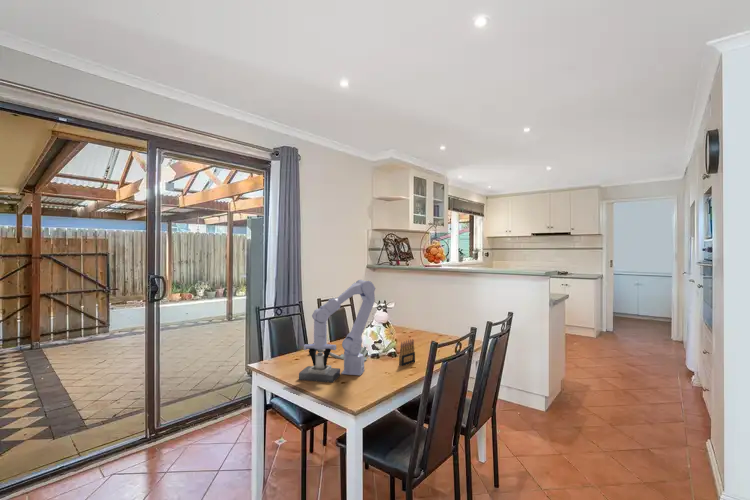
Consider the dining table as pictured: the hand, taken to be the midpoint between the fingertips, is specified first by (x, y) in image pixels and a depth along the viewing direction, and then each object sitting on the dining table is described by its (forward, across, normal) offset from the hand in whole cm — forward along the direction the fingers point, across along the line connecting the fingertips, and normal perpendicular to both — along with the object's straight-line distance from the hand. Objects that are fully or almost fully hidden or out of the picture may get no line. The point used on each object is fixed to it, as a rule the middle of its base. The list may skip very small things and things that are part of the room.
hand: (320, 365), depth 162 cm
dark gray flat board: (+5, 0, 0) cm, 5 cm away
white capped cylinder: (+2, 0, 0) cm, 2 cm away
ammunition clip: (+6, -41, -23) cm, 47 cm away
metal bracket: (+6, -13, -34) cm, 37 cm away
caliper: (+6, +4, -34) cm, 35 cm away
